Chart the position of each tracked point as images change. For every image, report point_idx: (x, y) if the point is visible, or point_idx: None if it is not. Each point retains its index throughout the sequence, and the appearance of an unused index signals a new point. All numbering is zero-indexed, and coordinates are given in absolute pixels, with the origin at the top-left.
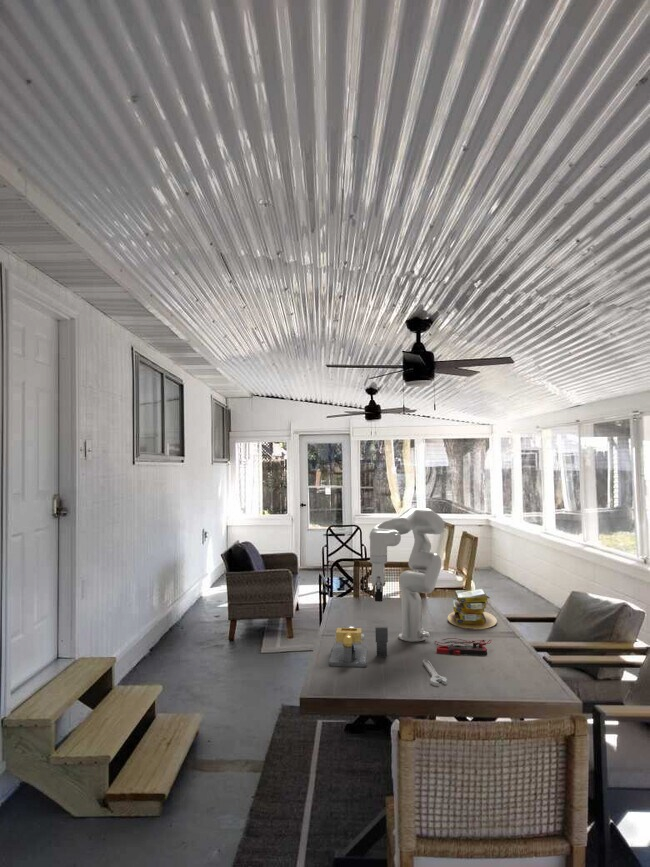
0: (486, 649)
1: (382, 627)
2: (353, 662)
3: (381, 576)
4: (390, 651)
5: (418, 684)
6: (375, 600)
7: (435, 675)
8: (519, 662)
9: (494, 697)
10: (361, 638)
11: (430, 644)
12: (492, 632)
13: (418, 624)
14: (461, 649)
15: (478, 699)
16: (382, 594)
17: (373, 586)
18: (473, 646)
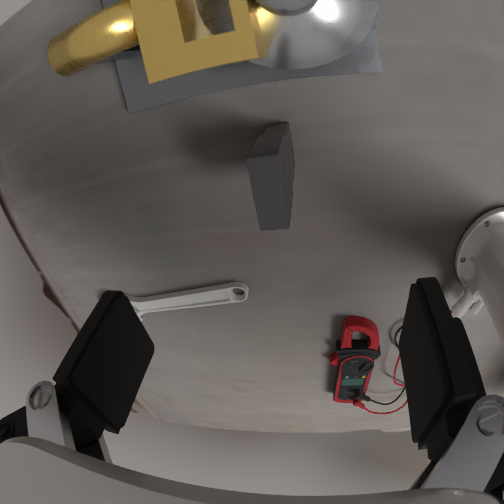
0: (342, 402)
1: (266, 201)
2: (120, 68)
3: None
4: (345, 174)
5: (90, 268)
6: (106, 299)
7: (139, 307)
8: (297, 419)
9: None
10: (248, 60)
11: None
12: None
13: (487, 309)
14: (338, 371)
15: None
16: (405, 366)
17: (40, 440)
18: (355, 390)
